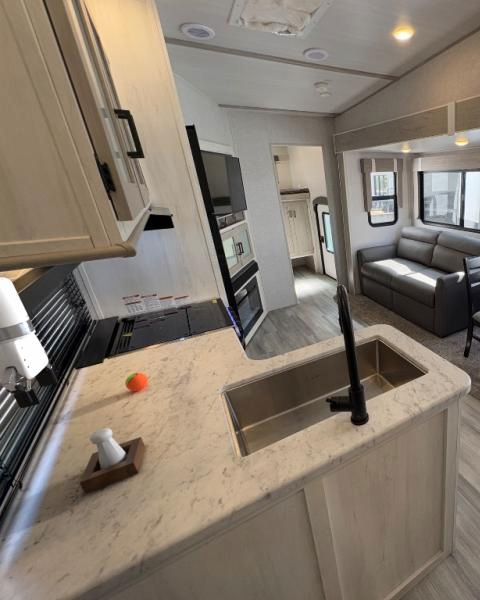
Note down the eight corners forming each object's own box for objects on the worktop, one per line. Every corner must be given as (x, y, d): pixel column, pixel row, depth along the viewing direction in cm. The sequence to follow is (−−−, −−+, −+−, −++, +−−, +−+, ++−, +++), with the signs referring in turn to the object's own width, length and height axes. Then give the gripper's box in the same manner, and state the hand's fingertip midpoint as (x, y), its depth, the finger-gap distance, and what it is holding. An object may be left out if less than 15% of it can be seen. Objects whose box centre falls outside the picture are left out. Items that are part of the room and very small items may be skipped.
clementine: (139, 396, 118) (132, 380, 116) (121, 396, 119) (114, 381, 116) (155, 383, 126) (149, 368, 123) (138, 384, 126) (132, 369, 124)
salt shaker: (134, 465, 87) (117, 428, 83) (109, 481, 83) (89, 443, 78) (126, 457, 90) (108, 421, 86) (101, 472, 85) (81, 435, 81)
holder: (85, 493, 79) (79, 482, 78) (98, 464, 88) (92, 453, 87) (138, 473, 84) (133, 462, 83) (145, 446, 93) (140, 436, 92)
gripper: (5, 323, 75) (36, 382, 81) (-44, 351, 61) (-2, 421, 66) (48, 316, 79) (74, 373, 84) (11, 341, 64) (46, 408, 70)
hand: (40, 394), depth 75 cm, fingers open, 9 cm apart
